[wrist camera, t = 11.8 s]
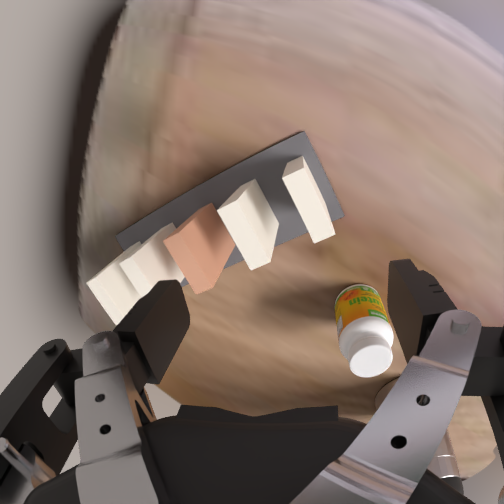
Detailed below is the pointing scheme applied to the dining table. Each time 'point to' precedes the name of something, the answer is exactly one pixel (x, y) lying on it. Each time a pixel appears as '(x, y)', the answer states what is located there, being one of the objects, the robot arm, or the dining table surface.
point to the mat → (226, 183)
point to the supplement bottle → (363, 330)
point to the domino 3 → (201, 248)
